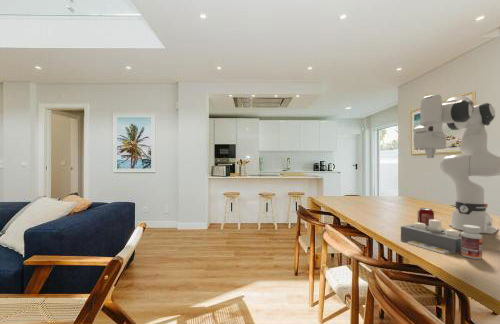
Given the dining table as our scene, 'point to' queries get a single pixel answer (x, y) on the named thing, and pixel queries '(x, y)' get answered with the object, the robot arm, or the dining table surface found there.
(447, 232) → the button
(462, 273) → the dining table surface
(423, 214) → the soda can
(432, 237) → the grey egg tray
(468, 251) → the pill bottle
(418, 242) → the card
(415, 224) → the cream oval piece
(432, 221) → the cream white egg
